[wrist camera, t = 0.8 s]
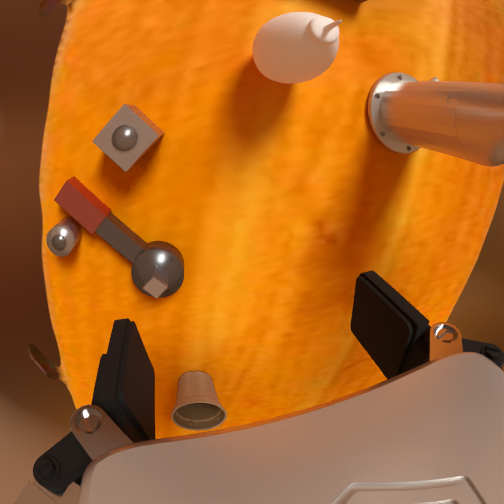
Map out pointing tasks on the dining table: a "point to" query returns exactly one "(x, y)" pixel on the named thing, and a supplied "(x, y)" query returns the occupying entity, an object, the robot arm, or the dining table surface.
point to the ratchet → (125, 241)
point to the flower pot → (197, 403)
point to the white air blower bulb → (296, 47)
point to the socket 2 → (128, 136)
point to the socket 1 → (64, 236)
